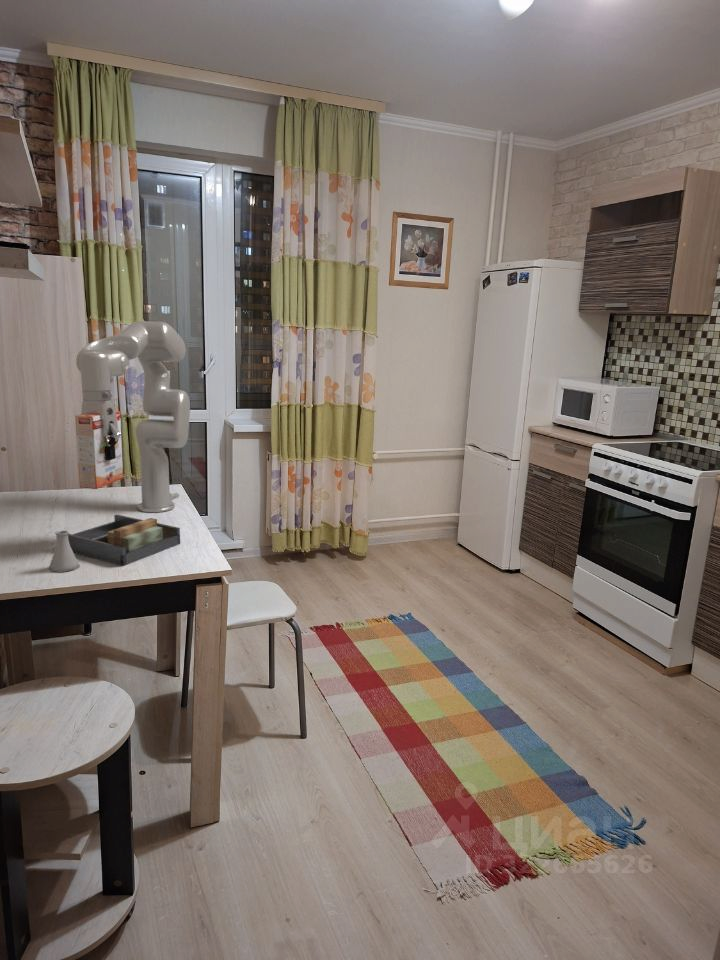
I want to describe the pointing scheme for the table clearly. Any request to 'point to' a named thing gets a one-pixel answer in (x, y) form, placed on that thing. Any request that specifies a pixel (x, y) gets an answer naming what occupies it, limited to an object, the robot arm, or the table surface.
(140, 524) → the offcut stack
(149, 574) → the table surface
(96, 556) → the tray
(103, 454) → the cracker box
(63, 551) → the flask
